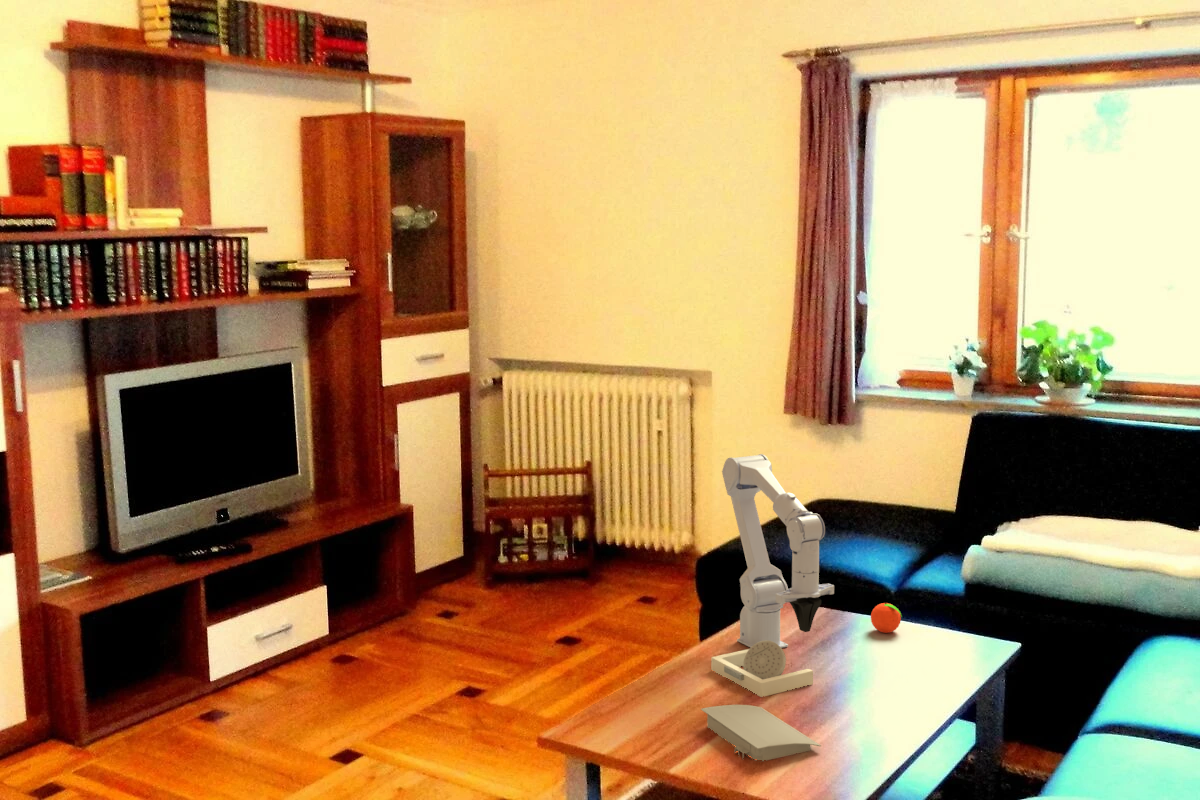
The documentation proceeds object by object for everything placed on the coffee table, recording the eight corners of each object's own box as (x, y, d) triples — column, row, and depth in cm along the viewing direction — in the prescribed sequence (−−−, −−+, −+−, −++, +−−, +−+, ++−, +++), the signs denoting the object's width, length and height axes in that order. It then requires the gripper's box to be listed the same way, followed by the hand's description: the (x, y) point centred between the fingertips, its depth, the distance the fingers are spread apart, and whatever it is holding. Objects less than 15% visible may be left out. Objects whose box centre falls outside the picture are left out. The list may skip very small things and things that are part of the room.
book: (753, 773, 217) (753, 752, 217) (690, 727, 238) (690, 708, 238) (825, 757, 224) (825, 736, 223) (757, 713, 244) (757, 694, 244)
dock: (708, 671, 266) (708, 657, 266) (761, 659, 273) (761, 646, 273) (757, 698, 251) (757, 684, 250) (812, 684, 258) (813, 670, 257)
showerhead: (748, 691, 256) (736, 650, 263) (764, 702, 261) (751, 662, 268) (787, 671, 253) (773, 631, 260) (802, 683, 258) (788, 643, 265)
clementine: (910, 632, 289) (910, 603, 288) (893, 640, 284) (894, 610, 283) (881, 625, 295) (881, 596, 294) (864, 632, 290) (865, 603, 289)
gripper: (790, 579, 258) (789, 641, 260) (843, 569, 265) (842, 629, 267) (769, 571, 264) (769, 632, 266) (822, 561, 271) (821, 620, 273)
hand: (804, 630), depth 267 cm, fingers closed
